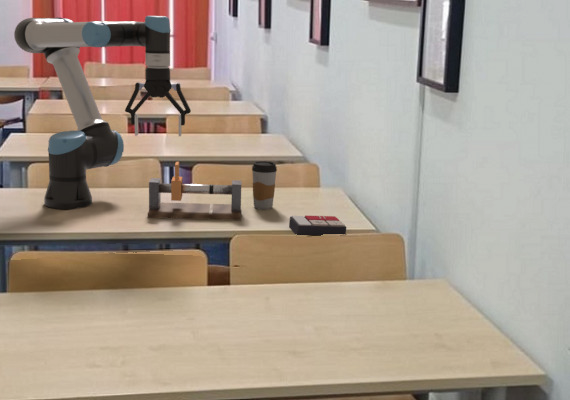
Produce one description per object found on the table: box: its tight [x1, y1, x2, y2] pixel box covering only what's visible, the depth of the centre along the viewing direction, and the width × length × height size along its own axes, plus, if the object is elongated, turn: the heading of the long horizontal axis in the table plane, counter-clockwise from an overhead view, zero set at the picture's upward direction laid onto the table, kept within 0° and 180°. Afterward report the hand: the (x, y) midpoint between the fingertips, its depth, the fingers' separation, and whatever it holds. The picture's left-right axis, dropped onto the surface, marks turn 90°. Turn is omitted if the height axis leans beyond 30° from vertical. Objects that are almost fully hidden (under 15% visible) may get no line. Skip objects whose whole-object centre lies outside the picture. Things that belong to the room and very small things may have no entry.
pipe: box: [148, 177, 242, 213], centre depth 262 cm, size 29×6×9 cm, turn 93°
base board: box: [147, 202, 242, 221], centre depth 263 cm, size 29×14×2 cm, turn 93°
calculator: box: [288, 215, 347, 235], centre depth 248 cm, size 11×4×15 cm
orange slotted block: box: [170, 161, 183, 202], centre depth 260 cm, size 3×6×11 cm, turn 3°
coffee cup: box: [251, 160, 278, 210], centre depth 272 cm, size 8×8×15 cm
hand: (158, 135), depth 257 cm, fingers open, 13 cm apart
